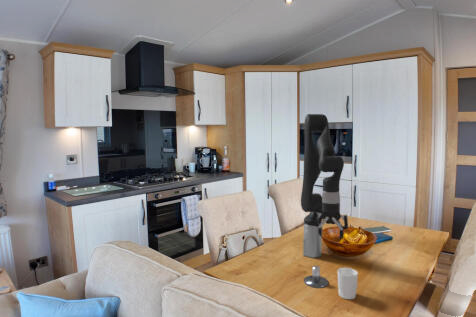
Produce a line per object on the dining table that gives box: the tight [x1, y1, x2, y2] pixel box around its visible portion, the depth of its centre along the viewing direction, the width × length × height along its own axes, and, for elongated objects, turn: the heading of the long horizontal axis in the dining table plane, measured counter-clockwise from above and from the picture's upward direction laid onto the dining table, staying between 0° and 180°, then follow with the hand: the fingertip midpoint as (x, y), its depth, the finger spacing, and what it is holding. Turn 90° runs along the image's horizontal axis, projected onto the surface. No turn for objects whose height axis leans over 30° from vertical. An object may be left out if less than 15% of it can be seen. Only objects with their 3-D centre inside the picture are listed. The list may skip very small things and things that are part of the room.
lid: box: [303, 265, 329, 289], centre depth 142 cm, size 10×10×7 cm
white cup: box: [336, 267, 359, 300], centre depth 131 cm, size 8×8×10 cm
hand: (330, 236), depth 143 cm, fingers open, 8 cm apart
